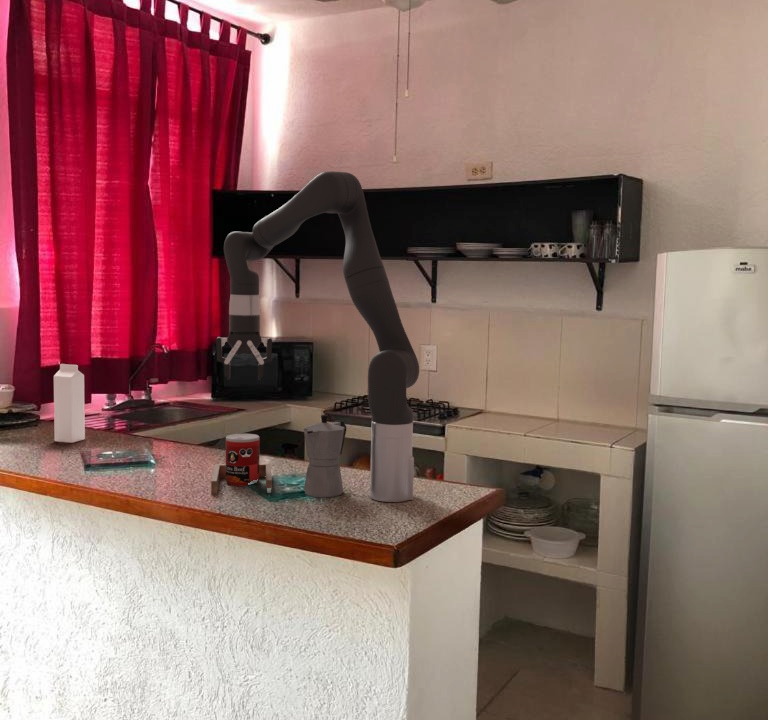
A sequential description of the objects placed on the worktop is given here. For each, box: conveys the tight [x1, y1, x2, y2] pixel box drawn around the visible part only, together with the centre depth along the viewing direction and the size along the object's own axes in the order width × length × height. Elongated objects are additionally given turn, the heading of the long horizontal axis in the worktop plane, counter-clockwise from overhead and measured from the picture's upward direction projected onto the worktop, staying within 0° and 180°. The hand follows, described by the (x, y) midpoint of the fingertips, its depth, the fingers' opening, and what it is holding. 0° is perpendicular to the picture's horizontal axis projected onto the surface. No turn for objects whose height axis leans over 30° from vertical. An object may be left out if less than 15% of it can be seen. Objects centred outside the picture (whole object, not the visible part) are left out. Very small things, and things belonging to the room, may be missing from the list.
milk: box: [53, 363, 86, 444], centre depth 249 cm, size 6×6×22 cm
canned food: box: [225, 433, 261, 487], centre depth 204 cm, size 8×8×11 cm
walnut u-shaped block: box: [210, 463, 273, 495], centre depth 202 cm, size 13×17×3 cm
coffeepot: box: [303, 413, 347, 498], centre depth 197 cm, size 15×9×18 cm, turn 150°
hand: (244, 379), depth 217 cm, fingers open, 7 cm apart
